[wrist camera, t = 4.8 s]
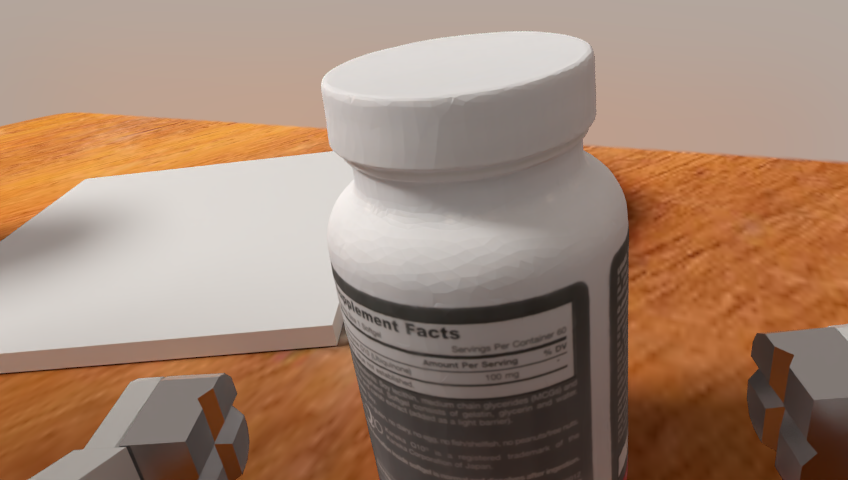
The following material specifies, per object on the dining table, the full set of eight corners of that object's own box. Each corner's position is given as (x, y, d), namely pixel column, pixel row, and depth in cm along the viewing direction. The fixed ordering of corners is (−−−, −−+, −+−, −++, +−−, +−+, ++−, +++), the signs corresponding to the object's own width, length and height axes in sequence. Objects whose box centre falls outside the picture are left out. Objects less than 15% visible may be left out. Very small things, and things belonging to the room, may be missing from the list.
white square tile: (-162, 386, 23) (-175, 368, 23) (90, 191, 39) (85, 179, 39) (336, 345, 21) (332, 324, 21) (387, 158, 38) (385, 145, 37)
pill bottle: (484, 373, 19) (446, 23, 15) (672, 458, 16) (694, 24, 11) (334, 498, 16) (226, 89, 11) (530, 647, 12) (481, 124, 8)
